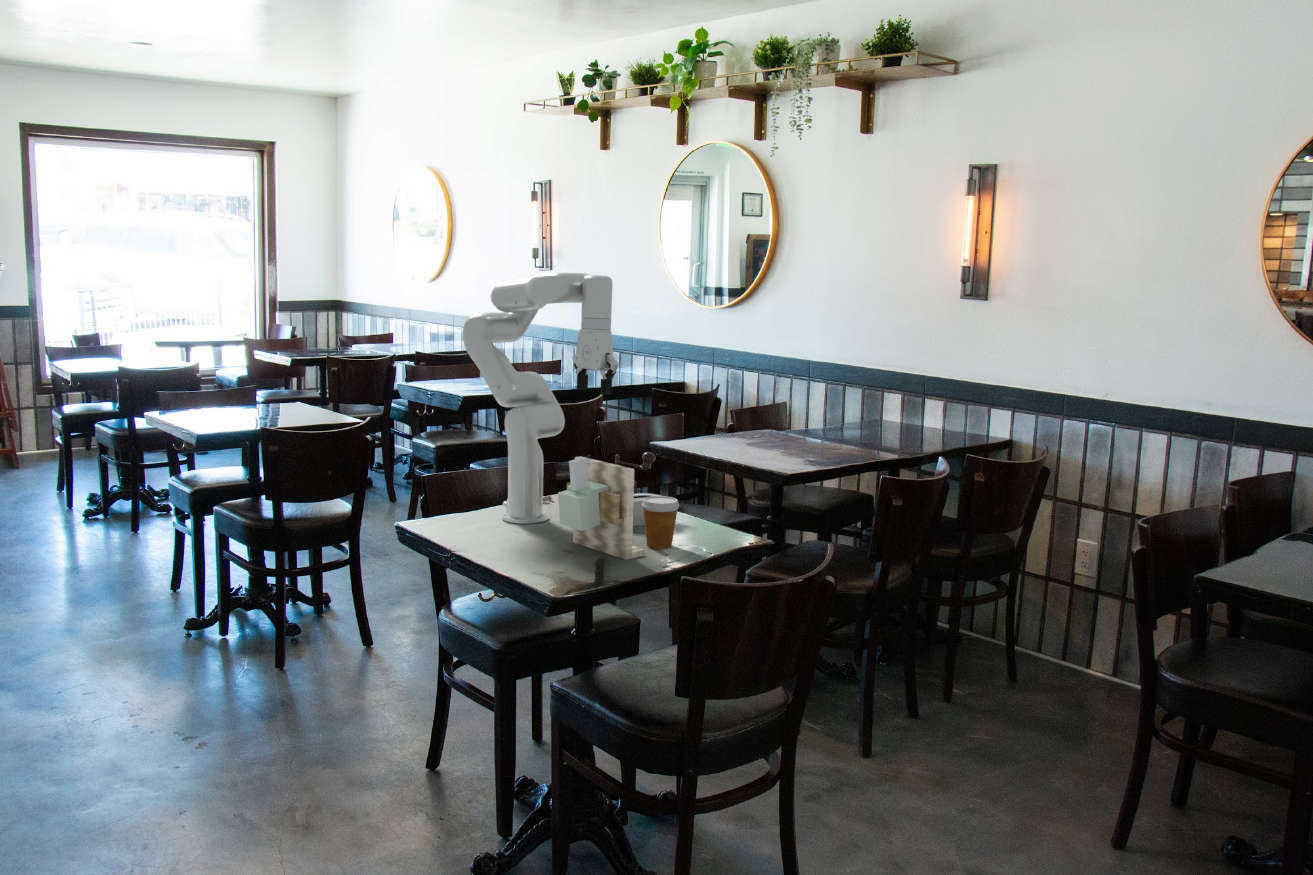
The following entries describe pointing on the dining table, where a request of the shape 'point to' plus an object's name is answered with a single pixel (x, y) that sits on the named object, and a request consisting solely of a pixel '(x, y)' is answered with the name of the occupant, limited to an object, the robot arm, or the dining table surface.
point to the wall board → (611, 511)
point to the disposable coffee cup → (660, 520)
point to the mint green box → (580, 498)
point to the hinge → (639, 508)
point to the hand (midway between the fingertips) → (593, 392)
